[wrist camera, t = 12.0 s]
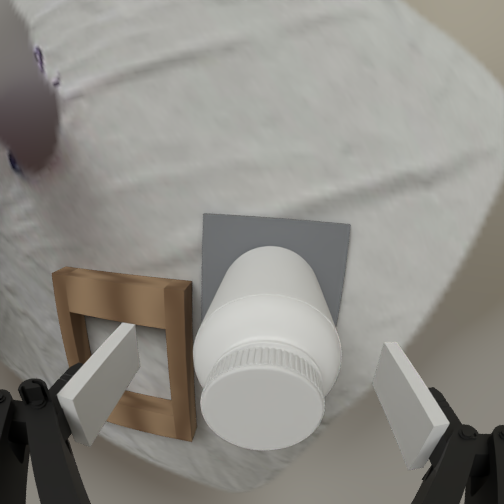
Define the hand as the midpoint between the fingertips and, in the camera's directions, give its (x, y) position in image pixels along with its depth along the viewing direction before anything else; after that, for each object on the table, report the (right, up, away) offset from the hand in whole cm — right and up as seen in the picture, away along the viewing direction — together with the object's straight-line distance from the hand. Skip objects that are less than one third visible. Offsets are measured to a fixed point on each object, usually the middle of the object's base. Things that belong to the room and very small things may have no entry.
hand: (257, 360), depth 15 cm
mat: (+1, +2, +11) cm, 12 cm away
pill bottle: (+1, +2, +11) cm, 12 cm away
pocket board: (-13, -5, +14) cm, 20 cm away
